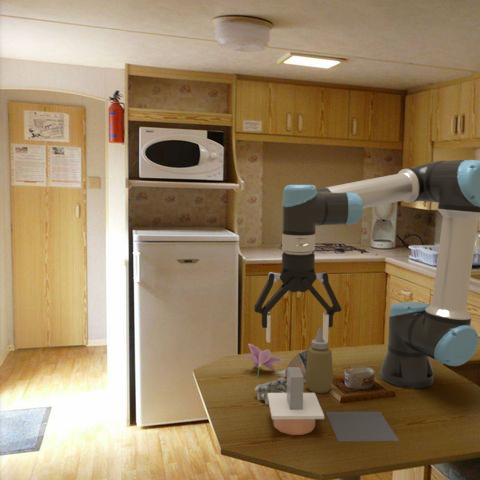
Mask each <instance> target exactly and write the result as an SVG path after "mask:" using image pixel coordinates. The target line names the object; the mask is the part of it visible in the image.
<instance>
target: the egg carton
mask: <svg viewBox="0 0 480 480" xmlns="http://www.w3.org/2000/svg"><path fill="white" fill-rule="evenodd" d="M254 391H256V392H257V394H256V398H257V400H258V401H264V404H265V405H266V406H269V401H268V396H267V393H287V379H285V378H284V377H282V376H281V377H280V378H278V379H276V380H273V381H272V380H270V381H269V382H265V383H261V384H260V383H259V384H257V385H256V387H255V388H254ZM269 391H271V392H269Z"/></svg>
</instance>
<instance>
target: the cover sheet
mask: <svg viewBox="0 0 480 480" xmlns="http://www.w3.org/2000/svg"><path fill="white" fill-rule="evenodd" d="M286 372H287V373H286V381H287V393H270V392H268V393H267V396H268V401H269V405H268V406H269V410H270V417H271V419H272V420H273V419H315V420H324V419H325V413H324V412H323V409H322V407H321V405H320V402H319V399H318V397H317V395H316V393H315V392H304V381H305V376H304V375H303V372H302V370H301V368H300V366H299V367H298V366H297V367H296V366H294V367H293V366H291V367H290V366H287V369H286Z"/></svg>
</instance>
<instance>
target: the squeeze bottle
mask: <svg viewBox="0 0 480 480" xmlns="http://www.w3.org/2000/svg"><path fill="white" fill-rule="evenodd" d="M332 353H333V352H332V350H331V349H330V348H329V341H328V342H325V341H324V340H323V327H322V328H321V327H319V328H317V332H316V336H315V339H312V340H311V346H310V347H309V348H308V350H307V357H306V364H305V372H304V381H305V384H306V386H307V390H309V391H310V392H311V393H315V394H326V393H328V392H329V391H330V389H331V387H332V384H333V381H334V369H333V356H332Z"/></svg>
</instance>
